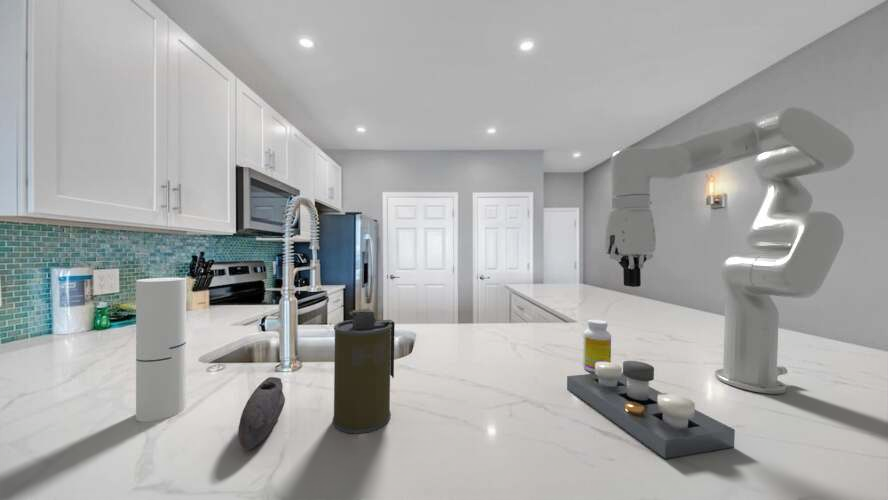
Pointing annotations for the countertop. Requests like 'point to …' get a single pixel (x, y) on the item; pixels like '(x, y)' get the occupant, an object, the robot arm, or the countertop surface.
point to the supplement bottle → (596, 344)
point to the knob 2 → (675, 409)
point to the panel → (651, 419)
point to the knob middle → (638, 378)
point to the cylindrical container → (160, 348)
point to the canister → (363, 372)
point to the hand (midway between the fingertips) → (632, 285)
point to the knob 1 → (608, 373)
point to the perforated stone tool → (261, 412)
